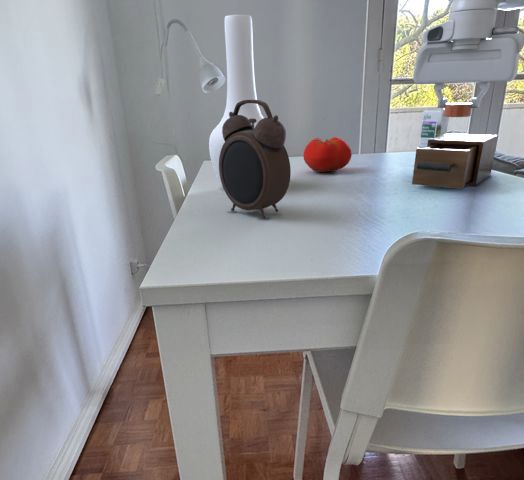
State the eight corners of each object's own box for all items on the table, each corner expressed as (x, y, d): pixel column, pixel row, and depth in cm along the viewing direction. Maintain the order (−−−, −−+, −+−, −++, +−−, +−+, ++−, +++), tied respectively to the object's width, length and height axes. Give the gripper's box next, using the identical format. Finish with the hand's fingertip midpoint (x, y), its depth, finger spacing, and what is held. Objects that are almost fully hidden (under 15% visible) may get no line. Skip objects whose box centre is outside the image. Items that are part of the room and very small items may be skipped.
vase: (210, 195, 110) (194, 12, 92) (214, 182, 124) (202, 21, 107) (281, 192, 110) (279, 9, 93) (277, 179, 124) (275, 19, 107)
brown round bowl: (473, 115, 102) (475, 102, 101) (466, 117, 98) (468, 104, 97) (447, 115, 105) (449, 103, 104) (439, 116, 101) (441, 104, 100)
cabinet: (475, 185, 110) (483, 141, 106) (422, 181, 117) (428, 139, 112) (490, 176, 121) (498, 135, 116) (440, 172, 127) (446, 133, 122)
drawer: (456, 192, 100) (462, 153, 96) (404, 188, 106) (408, 151, 102) (478, 178, 113) (484, 143, 109) (430, 175, 119) (435, 141, 115)
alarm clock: (216, 211, 96) (207, 100, 86) (242, 205, 100) (236, 98, 90) (268, 223, 87) (265, 100, 77) (294, 215, 91) (294, 98, 81)
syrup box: (415, 165, 138) (422, 110, 130) (423, 163, 142) (430, 109, 134) (434, 167, 134) (442, 110, 127) (442, 164, 138) (450, 109, 131)
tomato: (293, 174, 131) (293, 140, 127) (311, 167, 141) (311, 135, 136) (340, 177, 126) (342, 141, 121) (355, 169, 135) (357, 136, 131)
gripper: (530, 26, 91) (513, 106, 98) (425, 34, 101) (416, 106, 108) (524, 24, 86) (507, 108, 93) (415, 33, 97) (406, 108, 104)
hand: (457, 107), depth 101 cm, fingers closed on brown round bowl, 5 cm apart
